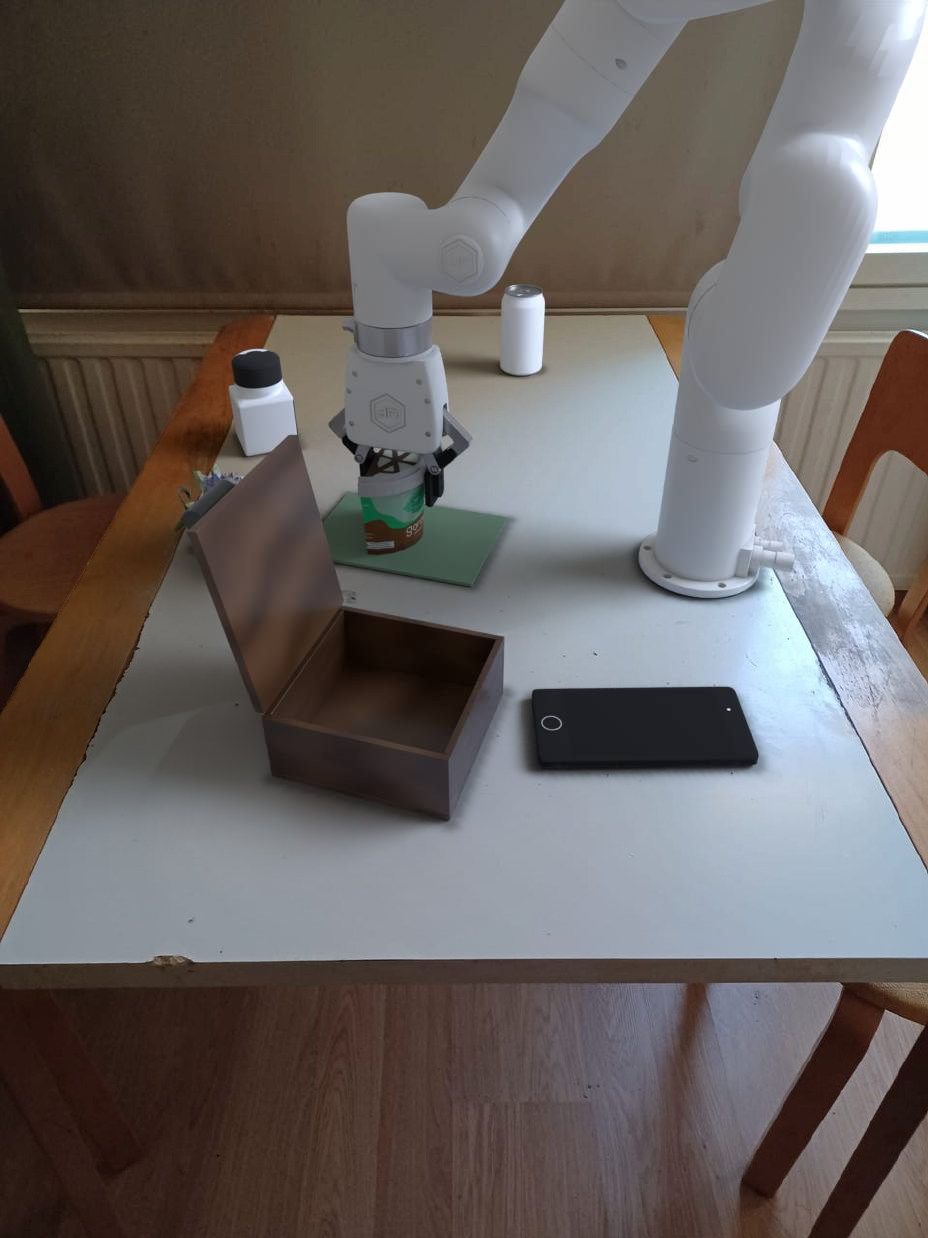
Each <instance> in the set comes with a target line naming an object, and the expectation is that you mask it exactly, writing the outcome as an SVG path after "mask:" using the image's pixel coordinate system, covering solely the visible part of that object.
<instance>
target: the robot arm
mask: <svg viewBox="0 0 928 1238" xmlns="http://www.w3.org/2000/svg"><path fill="white" fill-rule="evenodd" d="M775 1H776V0H564V1H563V3H562V5H561V7H560V9H559V10H558V12H557V13H556V15H555V17H554V18H553V19H552V21H551V22H550V24H549V25H548V27H547V29H546V30H545V32H544V34H542V37H541V39H540V40H539V42H538V43H537V44H536V46H535V48H534V49H533V50H532V52H531V54H530V55H529V57H528V59H527V61H526V63H525V64H524V67H523V68H522V70H521V73H520V75H519V76H518V77H519V78H518V80H517V83H516V87H515V91H514V93H513V96H512V99H511V101H510V103H509V105H508V108H507V109H506V112H505V113H504V115H503V117H502V119H501V120H500V122H499V124H498V126H497V128H496V129H495V131H494V133H493V134H492V136H491V138H490V139H489V140H488V142H487V143H486V145H485V147H484V149H483V150H482V152H481V154H480V155H479V156H478V158H477V159H476V161H475V163H474V165H473V166H472V167H471V169H470V171H469V172H468V174H467V175H466V177H465V178H464V179H463V181H462V183H461V184H460V186H459V188H458V189H457V191H456V192H455V193H454V195H453V196H452V197H451V198H450V199H449V200H448V202H447V203H446V204H445V205H442V206H440V207H438V208H435V209H434V208H433V209H429V207H428V206H427V204H426V203H425V201H424V200H423V199H421V198H420V197H418V196H415V195H413V194H410V193H404V192H396V191H395V192H392V191H391V192H390V191H389V192H387V191H386V192H375V193H369V194H365V195H362V196H360V197H357V198H355V199H354V200H353V201H352V202H351V203H350V204H349V206H348V208H347V212H346V232H347V242H348V243H347V244H348V255H349V257H348V258H349V267H350V268H349V269H350V280H351V281H350V282H351V292H352V305H353V315H351V316H350V317H349V316H344V317H343V319H342V323H341V327H342V330H343V331H344V332H349V333H350V334H353V342H354V343H353V344H351V345H350V346H349V347H348V349H347V350H348V351H347V357H346V366H345V379H344V407H343V408H342V409H341V410H340V411H338V413H337V414H336V415H334V417H333V418H331V419H330V421H328V423H327V424H328V428H329V429H330V430H331V431H332V432H333V433H334V434H335V436H337V438H339V439H340V440H341V443H342V445H343V446H344V447H345V448H346V449H347V450H348V451H349V452H350V453H351V454H352V455H353V459H354V461H355V463H357V464H358V465H359V476H361V477H365V475H366V474H367V472H368V470H369V468H370V466H371V464H372V462H373V459H374V457H375V455H376V454H377V453H378V452H379V451H378V452H377V451H375V449H380V450H381V449H387V450H394V451H401V452H409V453H416V454H422V456H423V458H424V461H425V463H426V465H427V467H428V470H427V472H426V473H425V475H424V487H425V500H424V504H425V505H427V507H433V506H435V504H436V502H437V501H438V499H439V498H442V497H443V495H444V493H445V469H446V467H448V465H450V464H451V463H452V462H453V461H454V460H455V459H456V458H458V456H460V455H461V454H463V453H464V452H465V451H466V450H467V449H468V448H470V446H471V444H472V443H473V441H474V439H473V436H472V435H471V434H470V433H469V431H467V429H466V428H464V427H463V425H461V423H460V422H459V421H458V420H457V419H456V418H455V417H454V416H453V414H451V413H450V404H449V403H450V402H449V392H448V385H447V378H446V372H445V366H444V361H443V358H442V354H441V350H440V346H438V345H437V344H434V325H433V321H434V320H433V291H434V292H439V293H442V294H446V295H451V296H456V297H475V296H479V295H482V294H484V293H486V292H489V291H490V290H491V289H493V288H494V287H495V286H496V285H497V283H499V281H500V280H501V279H502V278H503V275H504V273H505V271H506V269H507V267H508V265H509V263H510V260H511V259H512V256H513V255H514V252H515V250H516V249H517V247H518V245H519V244H520V242H521V240H523V238H524V236H525V235H526V233H527V231H528V230H529V228H530V227H532V224H533V223H534V221H535V220H536V219H537V217H538V215H539V214H540V213H541V211H542V210H543V208H544V207H545V206H546V204H547V203H548V202H549V199H550V198H551V197H553V194H554V193H555V191H556V190H557V189H558V187H559V186H560V185H561V183H562V182H563V181H564V179H565V178H566V177H567V175H568V174H569V173H570V172H571V171H572V169H573V168H574V167H575V165H576V164H577V163H578V162H579V161H580V160H581V159H582V158H583V157H585V155H587V154H588V153H590V152H591V151H592V150H594V149H595V148H596V147H598V146H599V145H600V143H602V141H603V140H604V139H605V137H606V136H607V135H608V134H609V133H610V132H611V130H612V129H613V128H614V126H615V125H616V124H617V122H618V121H619V120H620V118H621V117H622V115H623V113H624V112H625V110H626V109H627V108H628V106H629V105H630V103H631V102H632V100H633V99H634V98H635V96H636V95H637V94H638V92H639V91H640V89H641V88H642V87H643V85H644V84H645V82H646V81H647V80H648V78H649V77H650V76H651V74H652V73H653V71H654V70H655V68H656V67H657V66H658V64H659V63H660V62H661V60H662V59H663V57H664V55H665V54H666V53H667V52H668V50H669V48H670V47H671V46H672V45H673V43H674V42H675V40H676V39H677V38H678V37H679V35H680V33H681V32H682V31H683V30H684V28H685V27H686V25H688V24H687V23H688V22H689V21H693V20H697V19H698V20H699V19H703V18H707V17H712V16H717V15H722V14H727V13H731V12H736V11H739V10H740V11H741V10H744V9H747V8H751V7H752V8H753V7H756V6H759V5H763V4H767V3H771V2H775ZM803 7H804V8H803V16H802V21H801V26H800V29H799V33H798V37H797V39H796V43H795V45H794V49H793V50H792V54H791V56H790V60H789V62H788V65H787V67H786V68H787V69H786V71H785V74H784V77H783V81H782V82H781V86H780V88H779V91H778V93H777V96H776V98H775V101H774V103H773V106H772V108H771V110H770V113H769V116H768V117H767V121H766V123H765V125H764V128H763V131H762V133H761V135H760V137H759V140H758V142H757V145H756V147H755V149H754V152H753V154H752V156H751V158H750V160H749V162H748V164H747V167H746V169H745V171H744V174H743V175H742V177H741V181H740V185H739V191H738V212H739V217H740V221H739V224H738V227H737V230H736V233H735V236H734V237H733V240H732V243H731V245H730V248H729V251H728V253H727V256H726V258H725V259H722V260H721V261H719V262H717V263H716V264H714V265H712V267H711V268H710V269H709V270H707V271H706V272H705V273H704V275H703V276H702V277H701V278H700V280H699V281H698V282H697V284H696V285H695V287H694V289H693V291H692V294H691V296H690V298H689V301H688V305H687V309H686V314H685V315H686V316H685V323H684V329H683V330H684V332H683V342H682V351H681V360H680V369H679V378H678V386H677V393H676V399H675V400H676V401H675V407H674V413H673V420H672V427H671V433H670V440H669V446H668V453H667V461H666V468H665V474H664V480H663V488H662V493H661V502H660V508H659V515H658V516H659V517H658V523H657V528H656V529H657V530H656V531H655V532H653V533H652V534H649V535H648V536H647V537H646V538H645V539H644V540H643V541H642V543H641V544H640V547H639V552H638V563H639V567H640V569H641V570H642V572H643V573H644V574H645V575H646V577H648V578H649V579H650V580H651V581H652V582H654V583H655V584H656V585H658V586H660V587H662V588H664V589H665V590H668V591H671V592H674V593H676V594H679V595H683V596H687V597H693V598H701V599H719V598H726V597H727V598H728V597H731V596H734V595H737V594H740V593H742V592H745V591H746V590H748V589H749V588H751V587H752V586H753V585H754V584H755V582H757V579H758V577H759V574H760V570H761V568H766V569H771V570H774V571H779V572H786V573H792V572H793V567H794V562H795V557H796V556H795V553H792V552H784V551H782V550H783V544H784V542H783V541H778V540H766V539H761V536H758V535H755V534H756V527H757V524H756V522H755V521H756V516H757V511H758V508H759V507H758V506H759V503H760V499H761V498H760V497H761V493H762V488H763V485H764V479H765V475H766V471H767V467H768V461H769V457H770V453H771V448H772V445H773V444H772V443H773V440H774V438H775V437H774V436H775V432H776V428H777V422H778V418H779V412H780V408H781V402H782V398H783V397H785V396H786V395H787V394H788V393H790V391H792V390H793V388H794V387H796V385H797V384H798V383H799V382H800V381H801V379H802V378H803V377H804V375H805V373H806V372H807V371H808V369H809V368H810V366H811V364H812V362H813V360H814V358H815V356H816V355H817V352H818V351H819V350H820V349H819V348H820V346H821V345H822V342H823V341H824V339H825V337H826V335H827V333H828V331H829V330H830V327H831V325H832V322H833V320H834V319H835V317H836V315H837V313H838V311H839V309H840V306H841V305H842V302H843V301H844V298H845V296H846V295H847V293H848V291H849V289H850V286H851V284H852V283H853V280H854V278H855V276H856V274H857V272H858V270H859V268H860V265H862V264H861V263H862V262H863V259H864V258H865V255H866V253H867V250H868V248H869V245H870V242H871V239H872V236H873V233H874V229H875V226H876V221H877V216H878V207H879V205H878V204H879V201H878V200H879V198H878V197H879V196H878V189H877V185H876V181H875V178H874V175H873V172H872V171H871V169H870V167H869V164H870V161H871V158H872V156H873V154H874V151H875V149H876V146H877V144H878V142H879V139H880V137H881V135H882V133H883V130H884V129H885V126H886V124H887V121H888V119H889V118H890V114H891V112H892V110H893V107H894V104H895V102H896V100H897V97H898V94H899V93H900V90H901V88H902V86H903V83H904V81H905V78H906V75H907V73H908V71H909V68H910V66H911V63H912V60H913V58H914V56H915V53H916V50H917V47H918V43H919V41H920V38H921V34H922V31H923V27H924V22H925V18H926V14H927V7H928V0H804V6H803ZM446 436H448V437H449V438H450V439H451V440H452V442H453V443H451V444H450V445H448V446H447V447H446V448H444V445H443V444H442V440H443V439H442V438H444V437H446Z"/></svg>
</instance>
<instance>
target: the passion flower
mask: <svg viewBox="0 0 928 1238" xmlns="http://www.w3.org/2000/svg"><path fill="white" fill-rule="evenodd" d="M192 474H193V477H194V479H195V481H196V483H197V485H198V487H199V488H200V490H201V492H202V496H203V495H204V494H205V493H206V492H207V491H208V490H209V489H210V488H211V487H212V486H214V485H215V484H216V483H217V482H218V481H220V480H228V481H230V482H232V483H233V484H234V485H237V484H238V483H239V482H240V481H241V480H242V479H243V478H244V477H245V476H244V475H239V476H236V477H234V475H233V472H230V473H229V474H227V473H224V474H223V473H221V469H220V467H219V464H214V465H213V466H212V469H211V472H210V474H211V477H209V476H207V475H204V474H203V473H202V471H201V470H193V471H192ZM236 475H238V473H237V472H236ZM181 492H182V493H184V494H185V495H186V498H187V499H188V500H191V499H192V494H191V492H190V490H189V489H188V488H187V486H185V485H182V486H179V487H178V489H177V494H178V496H179V499H180V502H181V503H182V505H183V507H184V510H185V511H186V510H187V509H189V508H190V507H191V506H192V505H193V504H194V503H195V502H196V501H197V500H198V499H199V498H200V497H197V498H196V501H191V502H190V501H189V502H186V501H184V498H183V496H182V494H181ZM183 527H185V526H184V524H183V521H182V517H181V518H180V519H179V521H177V522H176V524H175V527H174V532H178V531H179V530H181V528H183Z"/></svg>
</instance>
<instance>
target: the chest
mask: <svg viewBox="0 0 928 1238" xmlns="http://www.w3.org/2000/svg"><path fill="white" fill-rule="evenodd" d="M505 641H506V637H505V636H503V635H498V634H494V633H493V634H492V633H488V632H482V631H477V630H472V629H466V628H462V627H456V626H451V625H446V624H441V623H436V622H432V621H427V620H426V621H425V620H419V619H414V618H409V617H404V616H399V615H394V614H388V613H383V612H379V611H373V610H367V609H363V608H357V607H352V606H347V605H343V604H342V605H341V606H340V608H339V609H338V610H337V612H336V613H335V615H334V616H333V617H332V619H331V620H330V622H329V623H328V624H327V626H326V627H325V629H324V630H323V631H322V633H321V634H320V636H319V637H318V639H317V640H316V641H315V643H314V644H313V646H312V647H311V648H310V650H309V651H308V653H307V654H306V655H305V657H304V658H303V660H302V661H301V662H300V664H299V665H298V667H297V668H296V669H295V671H294V672H293V674H292V675H291V676H290V678H289V679H288V681H287V682H286V684H285V685H284V686H283V688H282V689H281V691H280V692H279V693H278V695H277V696H276V698H275V699H274V700H273V702H272V703H271V705H270V706H269V707H268V709H267V710H266V712H265V713H264V714H262V715H261V717H260V721H261V727H262V731H263V738H264V742H265V746H266V752H267V757H268V760H269V761H268V763H269V768H270V772H271V776H272V777H273V778H275V779H279V780H284V781H288V782H292V783H295V784H300V785H305V786H309V787H311V788H312V787H313V788H316V789H320V790H324V791H328V792H332V793H337V794H341V795H344V796H349V797H353V798H357V799H359V800H360V799H361V800H365V801H369V802H373V803H377V804H381V805H385V806H388V807H389V806H390V807H392V808H393V807H394V808H397V809H401V810H405V811H410V812H414V813H417V814H422V815H426V816H430V817H433V818H437V819H442V820H445V821H451V819H452V817H453V814H454V812H455V809H456V807H457V805H458V802H459V800H460V797H461V795H462V793H463V790H464V788H465V785H466V783H467V781H468V778H469V776H470V774H471V771H472V769H473V767H474V764H475V762H476V760H477V757H478V755H479V752H480V750H481V747H482V745H483V742H484V741H485V738H486V735H487V733H488V731H489V728H490V726H491V723H492V721H493V719H494V716H495V714H496V712H497V710H498V707H499V705H500V702H501V700H502V699H503V698H502V697H503V695H504V679H505V678H504V677H505V676H504V675H505V674H504V673H505Z"/></svg>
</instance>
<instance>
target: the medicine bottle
mask: <svg viewBox="0 0 928 1238" xmlns="http://www.w3.org/2000/svg"><path fill="white" fill-rule="evenodd" d="M230 363H231V369H232V375H233V383H234V384H232V385H229V386H228V394H229V400H230V404H231V406H230V407H231V411H232V416H233V422H234V428H235V434H236V436H237V438H238V441H239V443H240V445H241V447H242V449H243V453H244V454H245V456H246V457H253V456H259V455H265V454H269V453H270V452H271V451H272V450H273V449H274V448H275V447H276V446H277V445H279V444H280V443H281V442H282V441H283V440H284V439H285V438H286V437H287V436H288V435H298V439H299V431H298V430H299V429H298V422H297V416H296V408H295V400H294V397H293V395H292V393H291V391H290V390H289V389H288V387H287V385H286V384H285V381H284V379H283V371H282V366H281V365H282V364H281V358H280V356H279V355H278V354H277V353H276V352H274V351H272V350H268V349H264V348H253V349H247V350H243V351H241V352H239V353H238V354H236V355H234V357H233V358H232V359H231V362H230ZM299 440H300V439H299Z"/></svg>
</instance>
